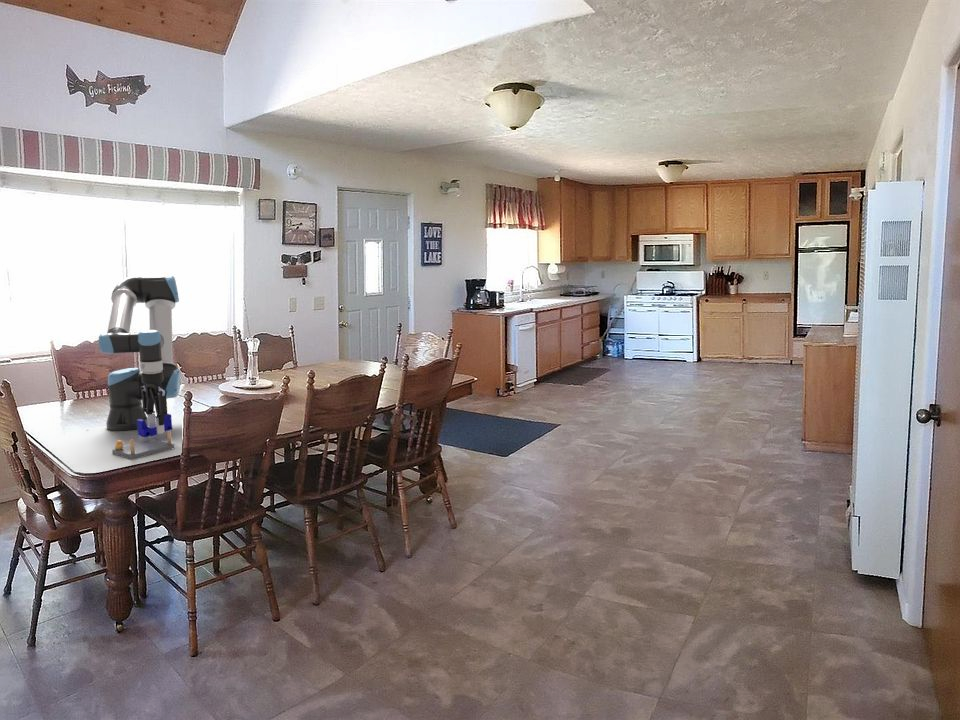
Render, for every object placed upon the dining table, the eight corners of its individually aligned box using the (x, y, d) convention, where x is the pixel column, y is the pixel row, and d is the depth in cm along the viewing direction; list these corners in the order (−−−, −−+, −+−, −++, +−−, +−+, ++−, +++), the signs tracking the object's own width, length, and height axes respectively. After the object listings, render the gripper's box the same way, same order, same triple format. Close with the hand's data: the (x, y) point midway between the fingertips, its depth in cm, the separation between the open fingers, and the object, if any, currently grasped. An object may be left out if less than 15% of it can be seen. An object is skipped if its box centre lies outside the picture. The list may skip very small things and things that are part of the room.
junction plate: (112, 453, 251) (111, 435, 250) (154, 443, 264) (153, 426, 263) (132, 459, 244) (130, 440, 243) (174, 448, 258) (173, 430, 257)
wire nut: (113, 447, 251) (114, 440, 250) (120, 447, 253) (121, 439, 252) (117, 449, 249) (118, 442, 249) (123, 449, 251) (125, 441, 251)
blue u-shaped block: (144, 437, 264) (143, 422, 263) (137, 435, 267) (136, 419, 266) (174, 430, 274) (173, 415, 273) (167, 428, 277) (166, 413, 275)
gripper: (128, 370, 268) (133, 430, 272) (156, 376, 258) (161, 438, 263) (147, 367, 274) (152, 426, 278) (175, 373, 264) (179, 433, 269)
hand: (156, 431), depth 271 cm, fingers closed on blue u-shaped block, 5 cm apart
